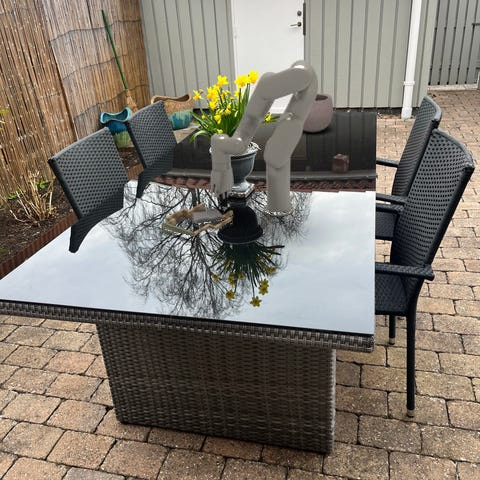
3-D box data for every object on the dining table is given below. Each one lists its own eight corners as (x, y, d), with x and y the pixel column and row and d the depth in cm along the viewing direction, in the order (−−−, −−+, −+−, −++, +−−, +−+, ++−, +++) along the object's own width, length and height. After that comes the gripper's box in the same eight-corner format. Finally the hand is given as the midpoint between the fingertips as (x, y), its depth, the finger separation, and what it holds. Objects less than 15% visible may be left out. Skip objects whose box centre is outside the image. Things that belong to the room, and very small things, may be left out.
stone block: (190, 222, 197) (195, 228, 188) (188, 211, 196) (194, 216, 187) (217, 218, 201) (224, 224, 191) (216, 207, 199) (223, 212, 190)
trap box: (197, 207, 206) (196, 199, 204) (240, 219, 193) (239, 211, 192) (157, 229, 189) (156, 221, 188) (200, 244, 177) (200, 235, 175)
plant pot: (338, 127, 301) (340, 78, 286) (322, 138, 283) (324, 86, 269) (303, 123, 312) (304, 76, 298) (286, 133, 295) (286, 83, 280)
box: (342, 173, 232) (343, 159, 228) (331, 171, 235) (332, 157, 232) (348, 170, 236) (349, 155, 233) (337, 167, 239) (338, 153, 236)
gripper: (225, 158, 200) (228, 198, 209) (202, 168, 190) (205, 210, 199) (240, 161, 196) (241, 201, 205) (216, 172, 186) (219, 214, 195)
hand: (224, 206), depth 202 cm, fingers closed
